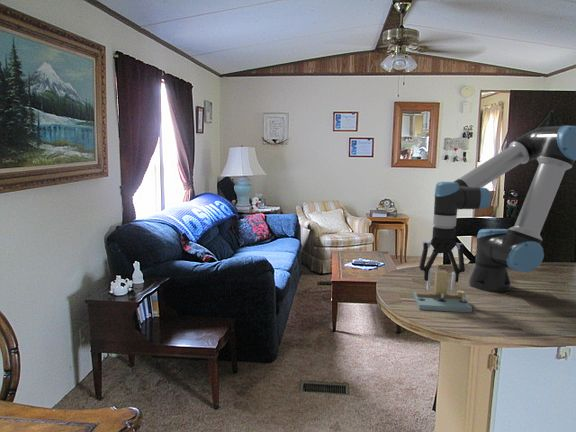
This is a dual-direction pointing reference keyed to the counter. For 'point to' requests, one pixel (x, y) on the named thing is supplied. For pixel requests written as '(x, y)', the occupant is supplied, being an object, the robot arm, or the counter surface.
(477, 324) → the counter surface
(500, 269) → the robot arm
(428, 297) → the board
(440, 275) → the block
